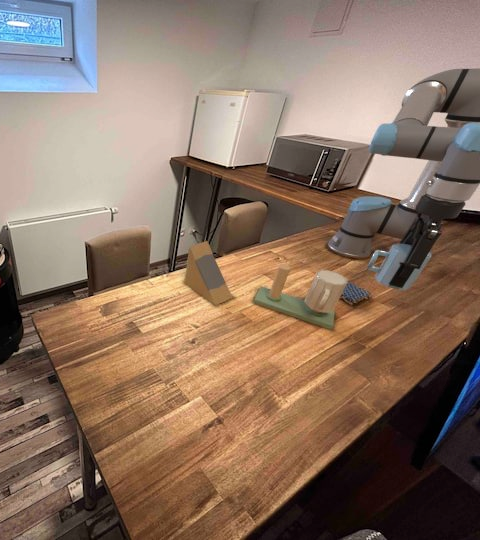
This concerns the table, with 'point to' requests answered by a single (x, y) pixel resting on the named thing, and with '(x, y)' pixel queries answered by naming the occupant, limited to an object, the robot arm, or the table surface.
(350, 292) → the woven mat
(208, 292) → the sandwich container
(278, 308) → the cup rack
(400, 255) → the blue cup
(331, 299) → the cream cup
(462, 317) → the table surface
